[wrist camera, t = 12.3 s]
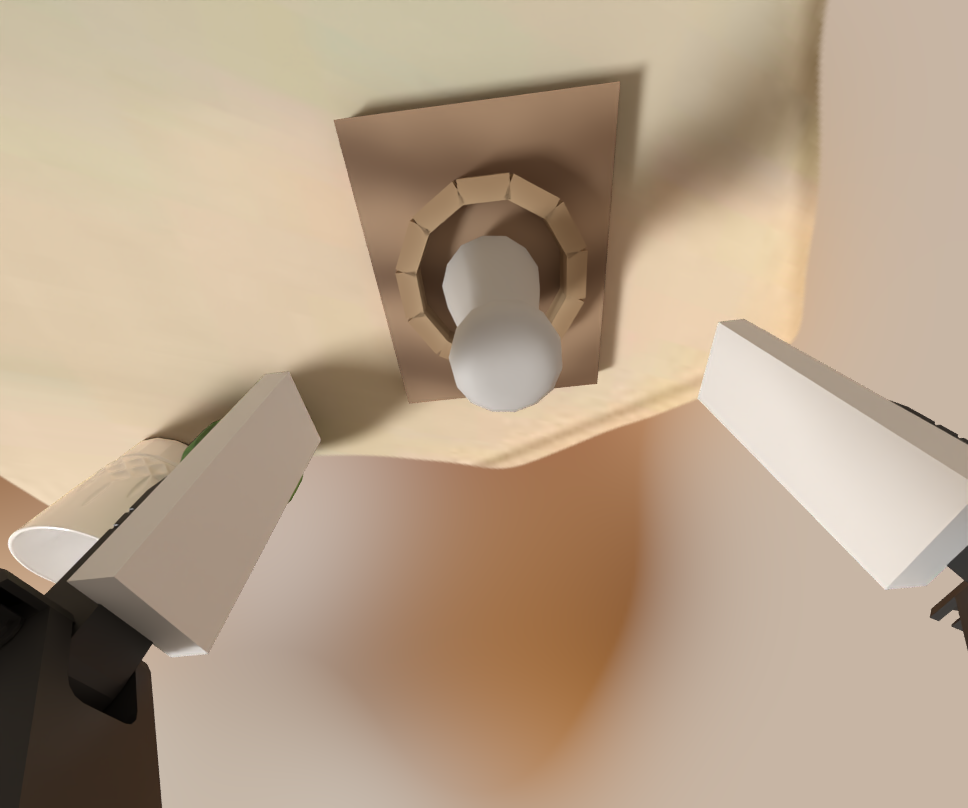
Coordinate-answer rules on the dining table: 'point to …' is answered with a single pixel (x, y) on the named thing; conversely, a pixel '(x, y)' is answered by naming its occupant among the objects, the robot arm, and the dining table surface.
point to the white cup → (92, 509)
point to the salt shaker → (500, 326)
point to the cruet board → (486, 214)
